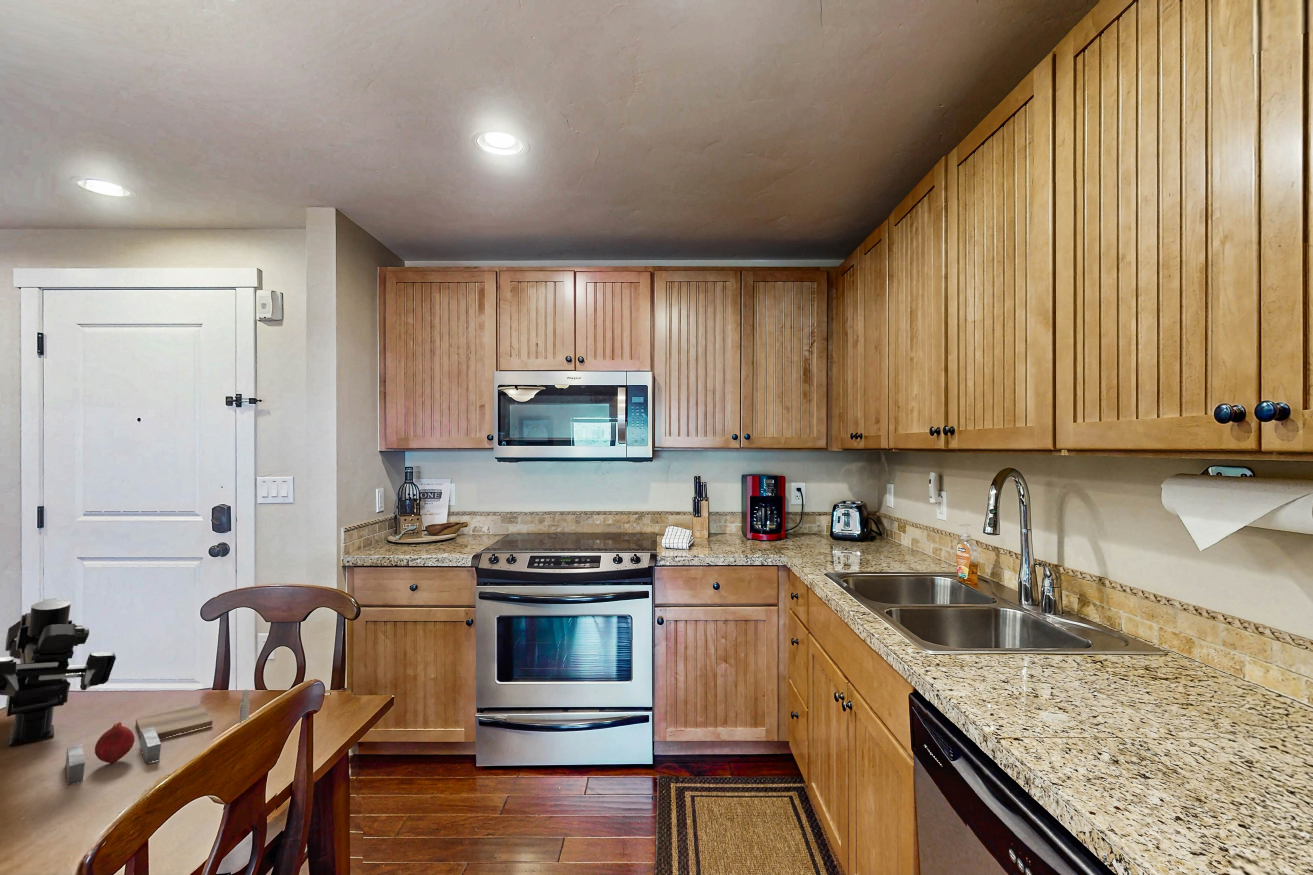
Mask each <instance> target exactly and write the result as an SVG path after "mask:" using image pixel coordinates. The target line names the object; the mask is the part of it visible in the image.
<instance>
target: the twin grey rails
mask: <svg viewBox="0 0 1313 875" xmlns="http://www.w3.org/2000/svg"><path fill="white" fill-rule="evenodd" d="M139 742H140V743H139V748H140V747H141V749H142V751H141V753H142V752H143V754H142V756H143V755H144V757H143V759H144V758H145V760H144V762H145V761H146V763H149V762H152V761H156V760H159V761H160V758H161V757H160V756H161V747H162V743H161V740H159V738H158V735H157V733H156V731H155V729H154V727H152V728H148V729H144V730H141V739H140V741H139ZM141 749H140V750H141ZM146 763H145V764H146ZM85 764H86V761H85V755H84V750H83V744H82V743H79V744H74V745H70V746H67V750H66V758H65V771H66V772H65V773H66V782H67V783H68V784H67V786H70V784H72V785H75V784H78V783H77V782H79V783H81V781H84V772H85V766H86V765H85ZM74 783H75V784H74Z"/></svg>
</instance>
